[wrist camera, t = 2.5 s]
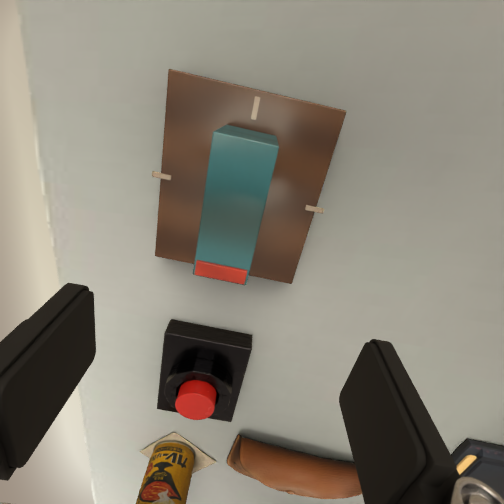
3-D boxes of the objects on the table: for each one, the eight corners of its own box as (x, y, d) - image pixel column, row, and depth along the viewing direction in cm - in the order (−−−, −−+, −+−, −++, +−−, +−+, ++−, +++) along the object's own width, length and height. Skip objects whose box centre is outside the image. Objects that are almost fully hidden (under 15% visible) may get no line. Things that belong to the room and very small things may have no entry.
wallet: (487, 544, 47) (398, 525, 46) (479, 529, 49) (393, 510, 47) (585, 476, 38) (478, 451, 37) (572, 460, 40) (469, 435, 39)
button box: (170, 318, 32) (158, 345, 29) (252, 334, 33) (250, 363, 29) (162, 393, 38) (151, 423, 34) (233, 406, 38) (229, 437, 35)
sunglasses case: (223, 467, 43) (224, 503, 37) (237, 418, 44) (240, 444, 37) (339, 493, 45) (361, 532, 38) (351, 445, 46) (374, 475, 39)
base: (172, 70, 22) (158, 66, 19) (345, 111, 23) (356, 113, 20) (159, 240, 28) (147, 255, 26) (295, 268, 29) (298, 286, 26)
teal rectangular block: (225, 124, 21) (212, 131, 16) (276, 135, 21) (279, 146, 16) (207, 240, 25) (191, 276, 20) (250, 249, 25) (245, 287, 20)
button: (181, 376, 31) (176, 390, 30) (219, 383, 31) (217, 397, 30) (177, 401, 33) (173, 416, 31) (213, 407, 33) (211, 423, 32)
